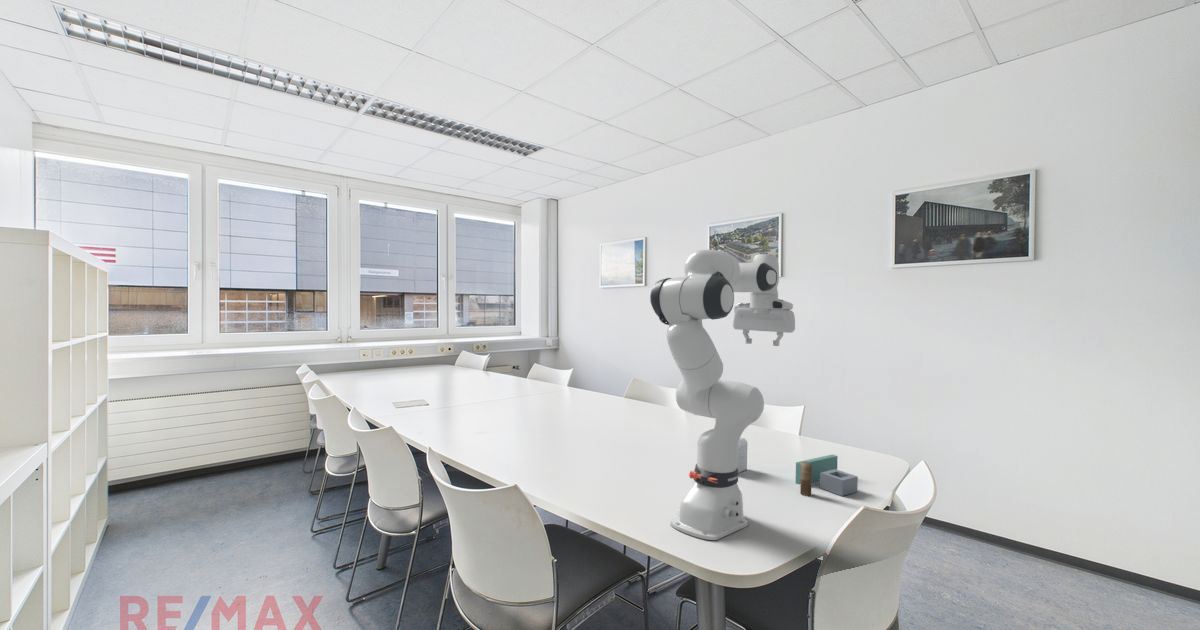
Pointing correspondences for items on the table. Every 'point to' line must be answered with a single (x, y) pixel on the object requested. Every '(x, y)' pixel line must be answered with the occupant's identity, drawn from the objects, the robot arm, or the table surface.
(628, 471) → the table surface
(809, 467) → the walnut dowel
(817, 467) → the backstop board
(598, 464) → the table surface
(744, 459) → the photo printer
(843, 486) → the socket block
